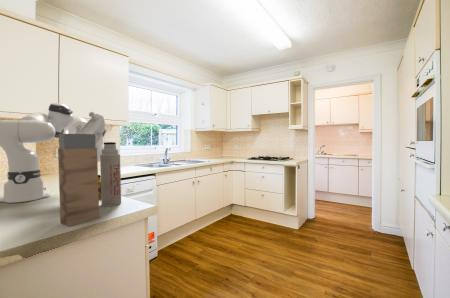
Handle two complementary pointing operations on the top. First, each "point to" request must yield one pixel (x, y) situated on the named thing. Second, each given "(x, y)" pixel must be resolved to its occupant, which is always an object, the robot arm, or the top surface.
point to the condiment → (99, 187)
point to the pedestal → (78, 185)
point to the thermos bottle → (110, 175)
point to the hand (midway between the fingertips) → (85, 119)
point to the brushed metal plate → (76, 141)
